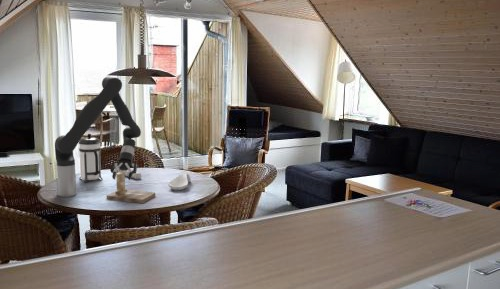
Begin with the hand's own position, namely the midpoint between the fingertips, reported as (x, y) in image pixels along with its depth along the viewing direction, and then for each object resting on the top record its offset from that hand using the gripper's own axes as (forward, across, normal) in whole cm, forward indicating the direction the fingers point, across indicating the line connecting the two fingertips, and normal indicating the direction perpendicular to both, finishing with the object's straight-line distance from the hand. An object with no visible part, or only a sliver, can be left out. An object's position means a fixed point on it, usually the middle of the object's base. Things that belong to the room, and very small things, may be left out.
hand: (121, 178), depth 233 cm
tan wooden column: (+6, 0, +4) cm, 7 cm away
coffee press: (-14, -28, +28) cm, 42 cm away
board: (+10, +6, +4) cm, 12 cm away
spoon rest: (-8, +30, +22) cm, 38 cm away
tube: (-24, -8, +38) cm, 45 cm away
